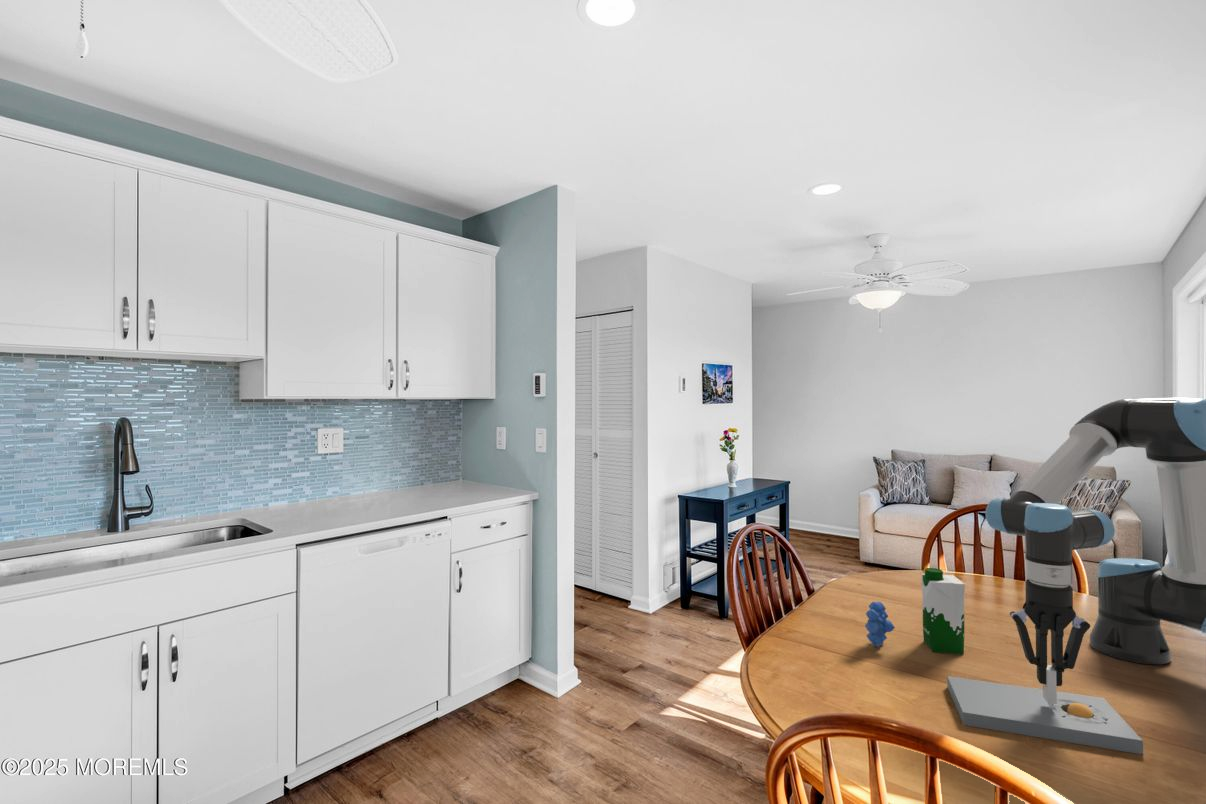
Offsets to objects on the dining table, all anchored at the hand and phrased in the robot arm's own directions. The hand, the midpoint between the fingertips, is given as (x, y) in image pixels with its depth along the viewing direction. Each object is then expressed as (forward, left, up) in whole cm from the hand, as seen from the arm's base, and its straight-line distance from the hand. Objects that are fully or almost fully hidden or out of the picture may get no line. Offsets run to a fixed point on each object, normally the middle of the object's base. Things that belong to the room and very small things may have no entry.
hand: (1049, 700), depth 116 cm
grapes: (+29, -26, -4) cm, 39 cm away
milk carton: (+14, -31, -4) cm, 34 cm away
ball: (-5, 0, -2) cm, 5 cm away
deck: (+3, 0, -4) cm, 5 cm away
